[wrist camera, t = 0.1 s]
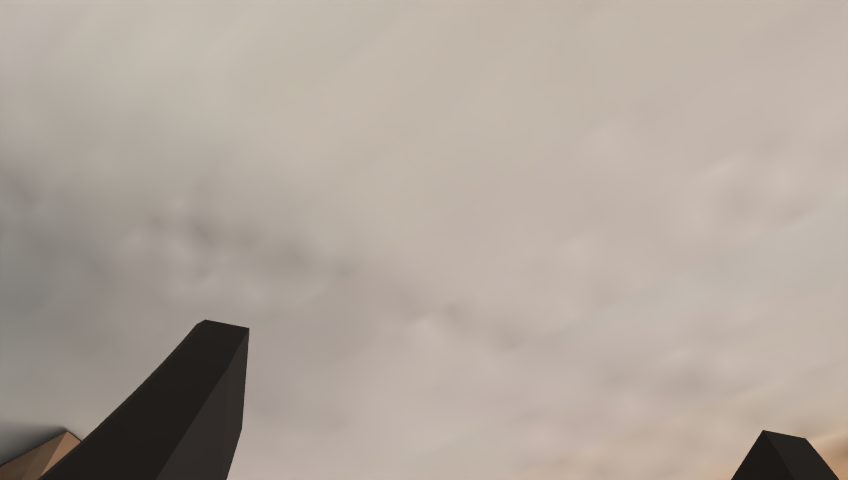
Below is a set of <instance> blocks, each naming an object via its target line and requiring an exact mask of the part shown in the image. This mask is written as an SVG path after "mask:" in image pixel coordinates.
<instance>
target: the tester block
mask: <svg viewBox="0 0 848 480" xmlns="http://www.w3.org/2000/svg"><path fill="white" fill-rule="evenodd" d="M79 443H80V441H79V440H78V439H76V438H75V437H74V436H73V435H71V434H70V433H69V432H65V433H63V434H61V435H59V436H57V437H56V438H54V439H52V440H50V441H48V442H46V443H44V444H42V445H41V446H39V447H37V448H35V449H33V450H31V451H29V452H27V453H25V454H24V455H22V456H20V457H18V458H16V459H14V460H12V461H10V462H9V463H7V464H5V465H3V466H1V467H0V480H37V479H38V478H39V477H41V476H42V475H43V474H44V473H45V472H46V471H48V470H49V469H50V468H51V467H52V466H53V465H55V464H56V463H57V462H58V461H59V460H60V459H61V458H63V457H64V456H65V455H66V454H67V453H68V452H70V451H71V450H72V449H73V448H74V447H75V446H77V445H78V444H79Z"/></svg>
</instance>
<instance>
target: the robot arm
mask: <svg viewBox="0 0 848 480" xmlns="http://www.w3.org/2000/svg"><path fill="white" fill-rule="evenodd" d="M248 341H249V328H245V327H240V326H235V325H230V324H225V323H220V322H215V321H210V320H204V321H202V322H200V323H198V324H197V325H196V326H195V327H194V328H193V329H192V330H191V332H190V333H189V334H188V335H187V336H186V337H185V338H184V340H183V341H182V342H181V343H180V344H179V345H178V346H177V347H176V349H175V350H174V351H173V352H172V353H171V354H170V355H169V356H168V357H167V358H166V359H165V360H164V362H163V363H162V364H161V365H160V366H159V367H158V368H157V369H156V370H155V371H154V372H153V373H152V374H151V375H150V376H149V377H148V378H147V379H146V380H145V381H144V382H143V383H142V384H141V385H140V386H139V387H138V388H137V389H136V390H135V391H134V392H133V393H132V394H131V395H130V396H129V397H128V398H127V399H126V400H125V401H124V402H123V403H122V404H121V405H120V406H119V407H118V408H117V409H116V410H114V411H113V412H112V413H111V414H110V415H109V416H108V417H107V418H106V419H105V420H104V421H103V422H102V423H101V424H100V425H99V426H98V427H97V428H96V429H95V430H93V431H92V432H91V433H90V434H89V435H88V436H87V437H86V438H85V439H83V440H82V441H81V442H80V443H79V444H78V445H77V446H75V447H74V448H73V449H72V450H71V451H70V452H68V453H67V454H66V455H65V456H64V457H63V458H61V459H60V460H59V461H58V462H57V463H56V464H55V465H53V466H52V467H51V468H50V469H49V470H48V471H46V472H45V473H44V474H43V475H42V476H41V477H39V478H38V479H37V480H226V479H227V476H228V473H229V470H230V467H231V463H232V460H233V457H234V453H235V450H236V447H237V443H238V440H239V437H240V433H241V430H242V420H243V407H244V393H245V380H246V367H247V354H248ZM731 480H839V479H838V477H837V476H836V475H835V474H834V472H833V471H832V470H831V469H830V467H829V466H828V465H827V464H826V462H825V461H824V460H823V459H822V457H821V456H820V455H819V454H818V453H817V451H816V450H815V449H814V448H813V447H812V445H811V444H810V443H809V442H808V441H807V440H806V439H805V438H800V437H795V436H790V435H785V434H780V433H775V432H770V431H765V430H763V431H762V432H761V434H760V436H759V437H758V439H757V440H756V442H755V443H754V445H753V446H752V448H751V450H750V451H749V453H748V454H747V456H746V457H745V459H744V461H743V462H742V464H741V465H740V467H739V468H738V470H737V471H736V473H735V475H734V476H733V478H732V479H731Z"/></svg>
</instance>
